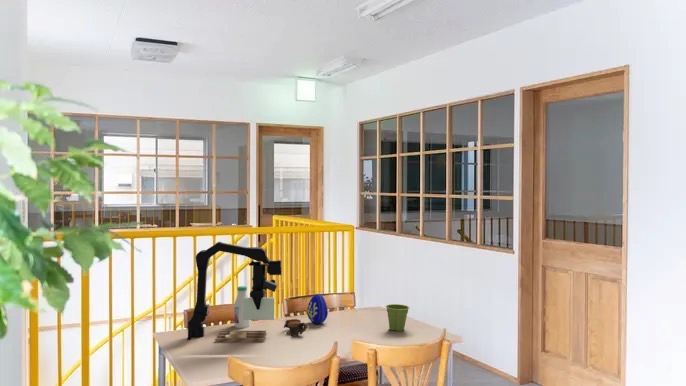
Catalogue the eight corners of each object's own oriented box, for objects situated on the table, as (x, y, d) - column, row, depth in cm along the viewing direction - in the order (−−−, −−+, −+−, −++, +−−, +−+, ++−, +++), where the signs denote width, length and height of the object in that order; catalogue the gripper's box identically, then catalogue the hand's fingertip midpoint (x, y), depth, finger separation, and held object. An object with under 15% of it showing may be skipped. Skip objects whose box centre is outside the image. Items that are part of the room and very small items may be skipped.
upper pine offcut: (229, 336, 236) (229, 333, 236) (230, 334, 239) (230, 331, 239) (245, 336, 236) (245, 333, 236) (246, 334, 239) (246, 331, 239)
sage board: (243, 319, 245) (243, 298, 245) (243, 319, 247) (243, 297, 247) (273, 320, 246) (274, 298, 246) (274, 319, 248) (274, 297, 248)
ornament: (303, 322, 275) (304, 293, 275) (317, 319, 281) (318, 291, 281) (317, 326, 267) (318, 296, 267) (331, 323, 273) (332, 294, 273)
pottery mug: (280, 337, 248) (280, 320, 252) (289, 342, 256) (289, 324, 260) (303, 333, 245) (303, 315, 249) (312, 338, 252) (311, 320, 257)
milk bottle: (251, 325, 266) (251, 285, 266) (249, 329, 259) (248, 287, 259) (235, 325, 266) (235, 285, 266) (233, 329, 258) (232, 288, 258)
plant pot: (401, 333, 256) (401, 310, 256) (380, 329, 263) (380, 306, 263) (413, 329, 266) (414, 306, 266) (393, 325, 273) (393, 303, 273)
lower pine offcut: (224, 341, 235) (225, 336, 235) (226, 339, 239) (226, 334, 239) (245, 341, 236) (245, 336, 236) (246, 339, 239) (246, 334, 239)
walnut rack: (214, 344, 234) (214, 338, 234) (219, 335, 249) (219, 329, 249) (264, 344, 235) (264, 338, 235) (267, 335, 250) (267, 329, 250)
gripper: (275, 278, 238) (274, 313, 238) (277, 272, 256) (277, 304, 256) (250, 278, 237) (249, 313, 237) (254, 271, 255) (253, 304, 256)
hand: (258, 309), depth 246 cm, fingers closed on sage board, 2 cm apart
